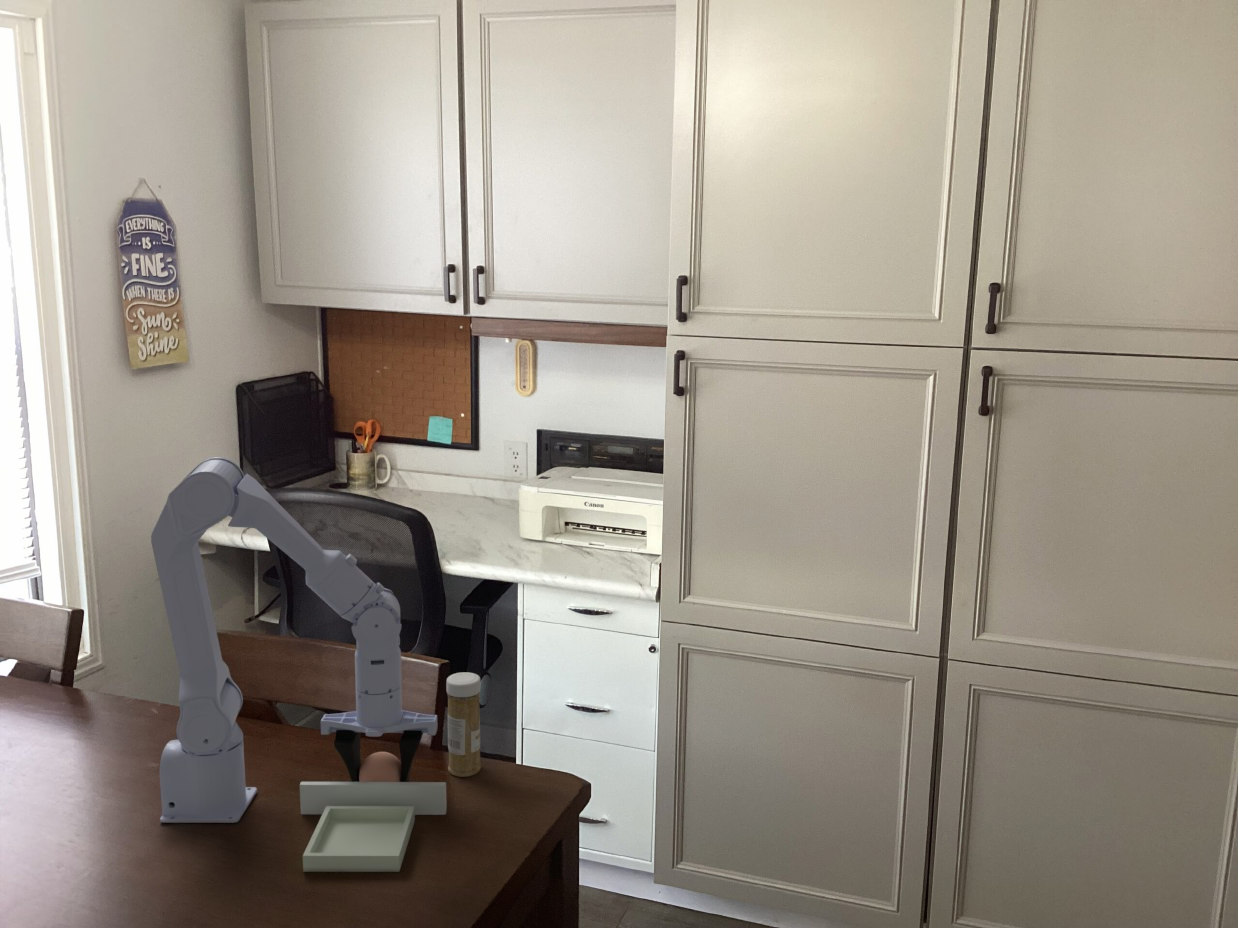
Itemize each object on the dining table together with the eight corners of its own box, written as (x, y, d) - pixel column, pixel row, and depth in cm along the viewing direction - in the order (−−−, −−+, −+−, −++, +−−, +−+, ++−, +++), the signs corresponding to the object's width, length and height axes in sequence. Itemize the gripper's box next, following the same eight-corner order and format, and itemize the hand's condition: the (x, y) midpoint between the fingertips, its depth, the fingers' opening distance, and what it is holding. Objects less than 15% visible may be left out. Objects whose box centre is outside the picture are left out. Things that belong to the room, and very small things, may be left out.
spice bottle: (486, 772, 139) (486, 679, 137) (455, 781, 137) (455, 686, 134) (472, 758, 143) (471, 668, 141) (441, 767, 141) (440, 674, 138)
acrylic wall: (300, 814, 128) (299, 784, 127) (302, 810, 129) (301, 781, 128) (445, 814, 129) (445, 785, 128) (446, 811, 129) (446, 782, 129)
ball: (354, 804, 130) (353, 764, 129) (364, 782, 136) (363, 743, 135) (399, 804, 131) (398, 764, 130) (406, 783, 136) (405, 743, 135)
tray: (303, 871, 116) (302, 855, 116) (326, 820, 127) (326, 805, 126) (399, 871, 116) (398, 855, 116) (414, 820, 127) (414, 806, 127)
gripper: (312, 698, 126) (316, 799, 129) (431, 698, 127) (432, 799, 129) (327, 675, 133) (330, 771, 136) (439, 676, 134) (440, 772, 136)
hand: (381, 783), depth 133 cm, fingers closed on ball, 6 cm apart
